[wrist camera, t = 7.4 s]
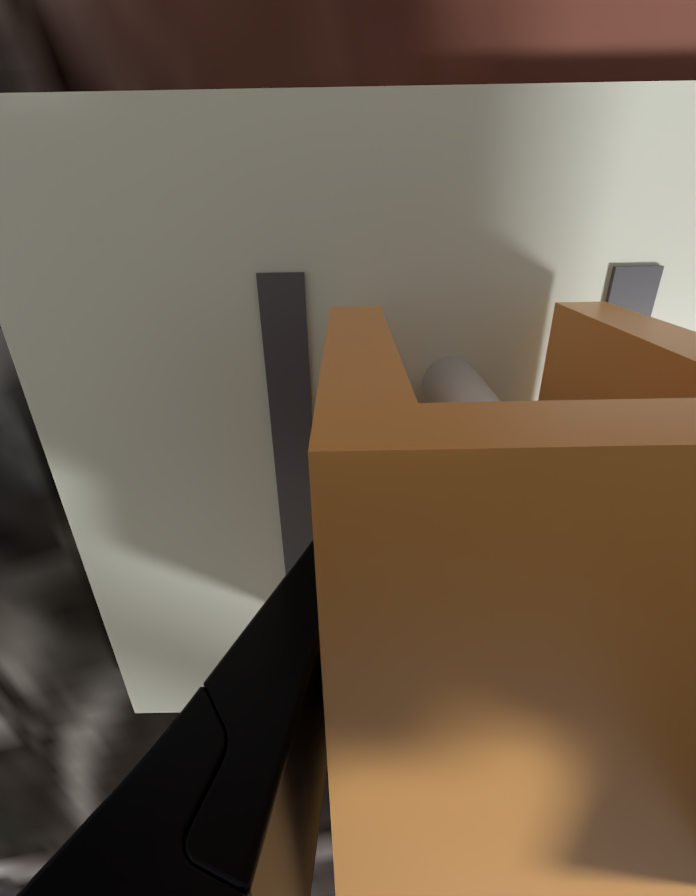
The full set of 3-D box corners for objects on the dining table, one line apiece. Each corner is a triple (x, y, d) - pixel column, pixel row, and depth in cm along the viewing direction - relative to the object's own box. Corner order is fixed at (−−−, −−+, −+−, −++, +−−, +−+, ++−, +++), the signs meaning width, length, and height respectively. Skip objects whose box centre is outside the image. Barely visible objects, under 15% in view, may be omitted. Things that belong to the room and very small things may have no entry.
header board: (948, 90, 8) (1803, -83, 3) (684, 671, 14) (845, 888, 9) (-31, 108, 8) (-559, -41, 3) (148, 681, 14) (55, 901, 9)
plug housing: (330, 306, 7) (307, 451, 3) (605, 301, 7) (1012, 438, 3) (342, 654, 11) (340, 962, 6) (527, 650, 11) (656, 957, 6)
